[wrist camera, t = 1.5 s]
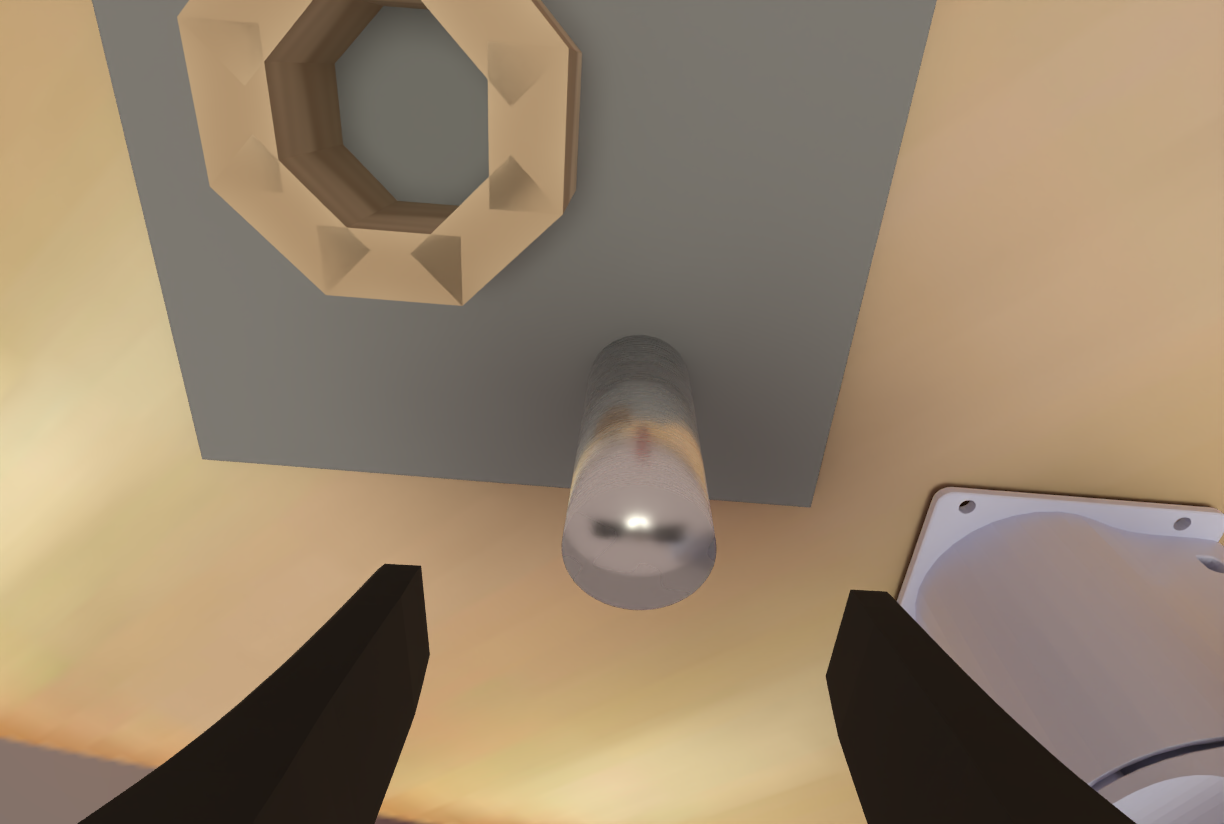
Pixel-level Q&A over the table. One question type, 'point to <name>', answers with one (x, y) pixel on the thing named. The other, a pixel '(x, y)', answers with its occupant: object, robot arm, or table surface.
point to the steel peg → (639, 482)
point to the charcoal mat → (550, 241)
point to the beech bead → (336, 180)
